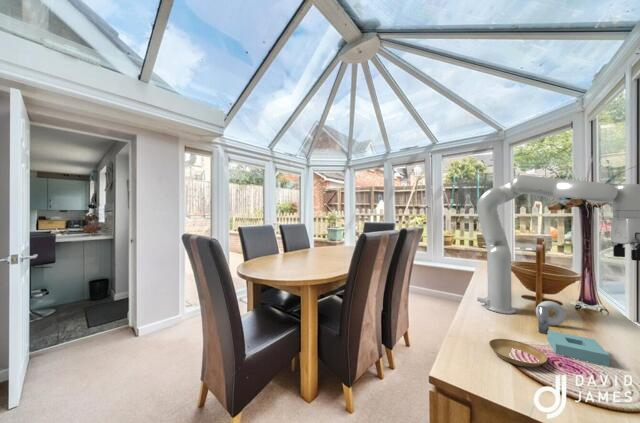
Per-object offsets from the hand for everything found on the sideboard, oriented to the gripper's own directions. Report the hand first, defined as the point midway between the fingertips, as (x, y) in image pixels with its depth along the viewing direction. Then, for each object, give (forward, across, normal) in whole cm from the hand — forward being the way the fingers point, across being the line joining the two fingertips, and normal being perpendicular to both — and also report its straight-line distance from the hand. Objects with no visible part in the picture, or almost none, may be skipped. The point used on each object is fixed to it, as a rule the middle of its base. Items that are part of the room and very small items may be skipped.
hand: (628, 258), depth 98 cm
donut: (+30, +3, -25) cm, 39 cm away
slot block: (+29, +27, -27) cm, 49 cm away
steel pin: (+30, +13, -31) cm, 45 cm away
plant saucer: (+30, +39, -47) cm, 68 cm away
